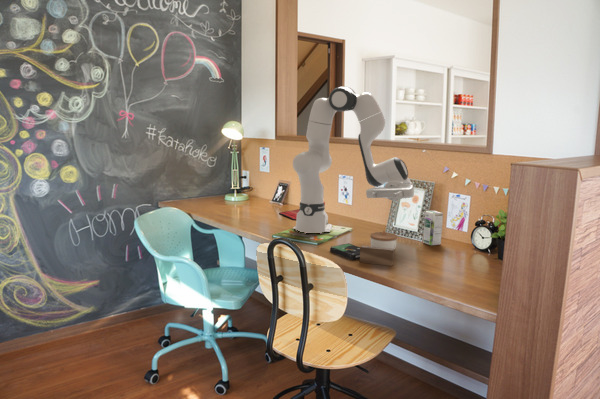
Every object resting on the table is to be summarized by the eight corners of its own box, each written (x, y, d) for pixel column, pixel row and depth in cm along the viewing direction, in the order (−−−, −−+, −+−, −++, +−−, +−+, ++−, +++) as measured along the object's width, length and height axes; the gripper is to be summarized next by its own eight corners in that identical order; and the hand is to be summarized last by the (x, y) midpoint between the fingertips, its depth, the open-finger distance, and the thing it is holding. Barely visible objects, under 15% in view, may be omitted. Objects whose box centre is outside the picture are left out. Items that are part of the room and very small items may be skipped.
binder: (302, 208, 276) (319, 215, 257) (302, 212, 276) (319, 219, 258) (277, 211, 269) (294, 218, 250) (277, 215, 269) (294, 223, 251)
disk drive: (372, 258, 187) (348, 249, 198) (372, 251, 186) (348, 242, 198) (353, 262, 181) (329, 252, 193) (353, 255, 180) (329, 246, 192)
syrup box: (422, 242, 209) (424, 210, 207) (433, 241, 211) (435, 210, 209) (430, 245, 204) (432, 213, 201) (441, 244, 206) (443, 212, 204)
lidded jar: (401, 254, 190) (402, 232, 188) (382, 258, 184) (383, 235, 182) (383, 248, 198) (384, 227, 197) (364, 252, 192) (365, 230, 191)
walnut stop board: (360, 260, 181) (361, 245, 180) (393, 264, 177) (393, 248, 176) (359, 262, 179) (360, 247, 178) (392, 265, 175) (393, 250, 174)
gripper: (371, 183, 211) (360, 189, 199) (416, 182, 201) (407, 187, 189) (372, 197, 212) (361, 203, 200) (417, 196, 202) (408, 202, 190)
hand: (384, 195), depth 195 cm, fingers open, 8 cm apart
